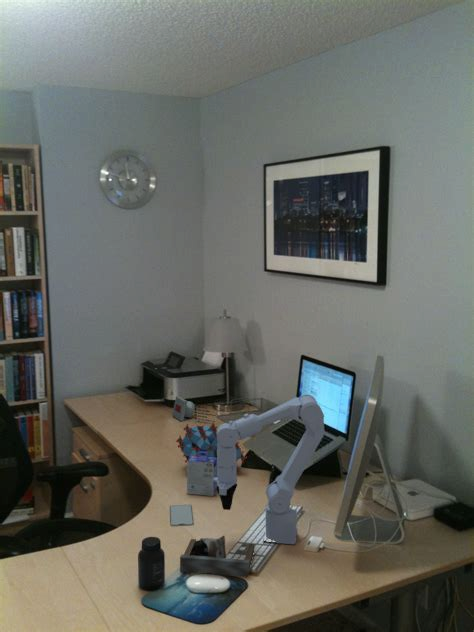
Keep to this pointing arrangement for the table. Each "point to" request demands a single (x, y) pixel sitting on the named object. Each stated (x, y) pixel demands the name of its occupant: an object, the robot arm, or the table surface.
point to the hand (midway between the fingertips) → (226, 508)
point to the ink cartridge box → (201, 475)
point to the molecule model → (203, 443)
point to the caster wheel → (210, 547)
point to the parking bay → (215, 563)
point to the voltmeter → (186, 409)
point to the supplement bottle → (151, 565)
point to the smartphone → (181, 515)
